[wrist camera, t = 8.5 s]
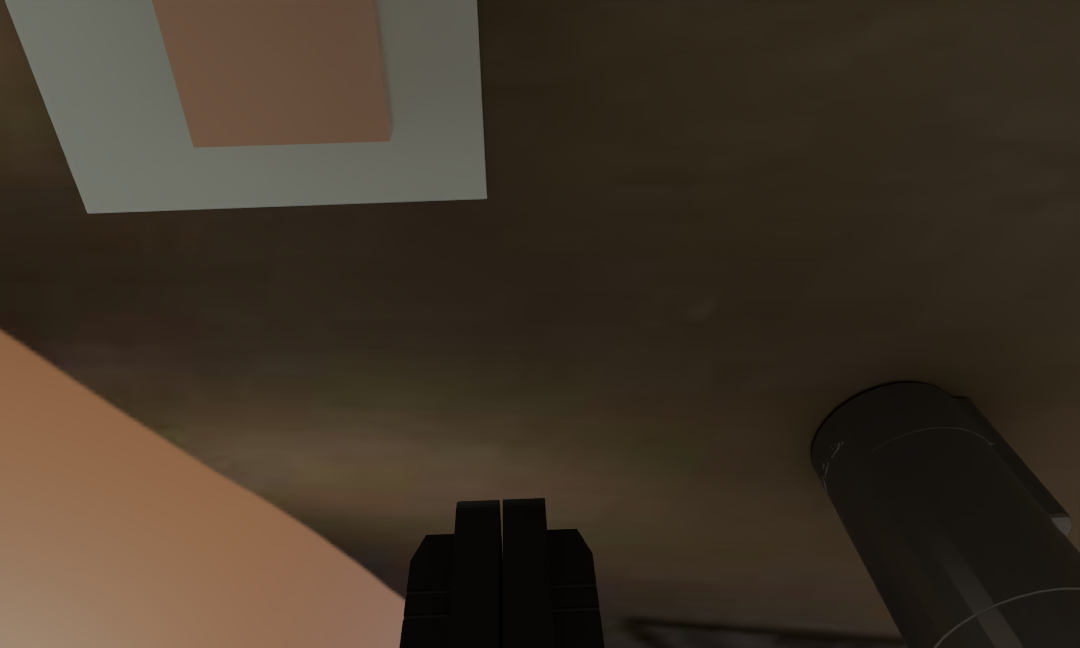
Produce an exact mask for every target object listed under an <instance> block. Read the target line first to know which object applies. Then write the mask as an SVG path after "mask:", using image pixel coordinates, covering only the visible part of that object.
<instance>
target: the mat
mask: <svg viewBox="0 0 1080 648" xmlns="http://www.w3.org/2000/svg"><path fill="white" fill-rule="evenodd" d="M5 2H6V5H7V7H8V10H9V12H10V15H11V18H12V20H13V23H14V25H15V28H16V30H17V33H18V36H19V38H20V41H21V43H22V46H23V49H24V51H25V54H26V56H27V59H28V61H29V64H30V67H31V69H32V72H33V74H34V77H35V79H36V82H37V85H38V87H39V90H40V92H41V95H42V97H43V100H44V103H45V105H46V108H47V110H48V113H49V115H50V118H51V121H52V123H53V126H54V128H55V131H56V133H57V136H58V139H59V141H60V144H61V146H62V149H63V151H64V154H65V157H66V159H67V162H68V164H69V167H70V169H71V172H72V175H73V177H74V180H75V182H76V185H77V187H78V190H79V193H80V195H81V198H82V200H83V203H84V205H85V208H86V211H87V213H114V212H141V211H168V210H196V209H223V208H250V207H277V206H305V205H332V204H359V203H386V202H413V201H441V200H468V199H487V191H486V171H485V151H484V132H483V112H482V92H481V72H480V52H479V32H478V12H477V0H377V4H378V12H379V20H380V29H381V37H382V45H383V53H384V61H385V70H386V78H387V86H388V94H389V102H390V111H391V119H392V127H393V131H392V135H391V139H390V141H385V142H354V143H323V144H291V145H260V146H229V147H197V148H194V147H193V143H192V140H191V136H190V133H189V129H188V126H187V122H186V119H185V115H184V112H183V108H182V105H181V101H180V98H179V94H178V90H177V87H176V83H175V80H174V76H173V73H172V69H171V66H170V62H169V59H168V55H167V52H166V48H165V45H164V41H163V38H162V34H161V30H160V27H159V23H158V20H157V16H156V13H155V9H154V6H153V2H152V0H5Z"/></svg>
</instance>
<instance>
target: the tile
mask: <svg viewBox="0 0 1080 648" xmlns="http://www.w3.org/2000/svg"><path fill="white" fill-rule="evenodd" d="M152 2H153V6H154V9H155V13H156V16H157V20H158V23H159V27H160V30H161V34H162V38H163V41H164V45H165V48H166V52H167V55H168V59H169V62H170V66H171V69H172V73H173V76H174V80H175V83H176V87H177V90H178V94H179V98H180V101H181V105H182V108H183V112H184V115H185V119H186V122H187V126H188V129H189V133H190V136H191V140H192V143H193V147H194V148H197V147H229V146H260V145H291V144H323V143H354V142H385V141H390V139H391V135H392V131H393V127H392V119H391V111H390V102H389V94H388V86H387V78H386V70H385V61H384V53H383V45H382V37H381V29H380V20H379V12H378V4H377V0H152Z"/></svg>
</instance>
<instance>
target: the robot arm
mask: <svg viewBox="0 0 1080 648" xmlns="http://www.w3.org/2000/svg"><path fill="white" fill-rule="evenodd" d="M811 456H812V462H813V467H814V468H815V470H816V472H817V474H818V476H819V478H820V480H821V482H822V485H823V488H824V490H825V492H826V493H827V494H828V496H829V498H830V499H831V501H832V503H833V505H834V507H835V509H836V511H837V513H838V515H839V517H840V519H841V521H842V523H843V525H844V527H845V529H846V531H847V533H848V534H849V536H850V538H851V540H852V542H853V544H854V546H855V548H856V550H857V552H858V553H859V555H860V557H861V559H862V561H863V563H864V565H865V567H866V569H867V571H868V573H869V574H870V576H871V578H872V580H873V582H874V584H875V586H876V588H877V590H878V592H879V593H880V595H881V597H882V599H883V601H884V603H885V605H886V607H887V609H888V611H889V613H890V614H891V616H892V618H893V620H894V622H895V624H896V626H897V628H898V630H899V632H900V633H901V635H902V637H903V639H904V641H905V643H906V645H907V647H908V648H1080V553H1079V552H1078V550H1077V549H1076V548H1075V547H1074V546H1073V544H1072V543H1071V542H1070V541H1069V539H1068V538H1067V537H1066V536H1067V535H1068V533H1069V531H1070V530H1071V527H1072V520H1071V517H1070V516H1069V514H1068V513H1067V512H1066V511H1065V510H1064V509H1063V507H1062V506H1061V505H1060V504H1059V503H1058V502H1057V500H1056V499H1055V498H1054V497H1053V496H1052V495H1051V493H1050V492H1049V491H1048V490H1047V489H1046V488H1045V486H1044V485H1043V484H1042V483H1041V482H1040V481H1039V479H1038V478H1037V477H1036V476H1035V475H1034V474H1033V472H1032V471H1031V470H1030V469H1029V468H1028V467H1027V465H1026V464H1025V463H1024V462H1023V461H1022V460H1021V458H1020V457H1019V456H1018V455H1017V454H1016V453H1015V451H1014V450H1013V449H1012V448H1011V447H1010V446H1009V444H1008V443H1007V442H1006V441H1005V440H1004V439H1003V437H1002V436H1001V435H1000V434H999V433H998V432H997V430H996V429H995V428H994V427H993V426H992V425H991V423H990V422H989V421H988V420H987V419H986V418H985V416H984V415H983V414H982V413H981V412H980V411H979V409H978V408H977V407H976V406H975V405H974V404H973V402H972V401H971V400H970V399H968V398H965V399H956V398H953V397H951V396H949V395H948V394H946V393H945V392H944V391H942V390H941V389H939V388H936V387H933V386H931V385H927V384H920V383H897V384H892V385H887V386H882V387H879V388H876V389H874V390H871V391H868V392H865V393H863V394H861V395H860V396H858V397H856V398H854V399H852V400H850V401H849V402H847V403H846V404H845V405H843V406H842V407H840V408H839V409H838V410H836V411H835V412H834V413H833V414H832V415H831V416H830V417H829V418H828V419H827V420H826V422H825V423H824V424H823V426H822V427H821V429H820V430H819V432H818V433H817V436H816V438H815V440H814V443H813V447H812V454H811ZM400 648H604V640H603V632H602V624H601V617H600V612H599V601H598V593H597V588H596V578H595V570H594V562H593V555H592V552H591V550H590V549H589V547H588V546H587V544H586V543H585V541H584V539H583V538H582V536H581V535H580V533H579V532H578V530H577V529H561V530H547V523H546V508H545V498H534V499H508V500H503V555H502V536H501V517H500V501H499V500H488V501H462V502H457V507H456V520H455V534H441V535H426V536H425V538H424V540H423V541H422V543H421V545H420V546H419V548H418V549H417V551H416V553H415V554H414V556H413V558H412V559H411V561H410V569H409V577H408V585H407V596H406V601H405V609H404V620H403V625H402V633H401V641H400Z"/></svg>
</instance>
